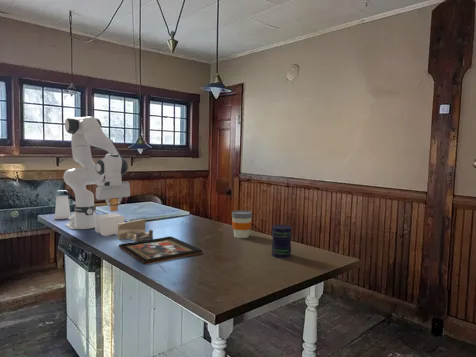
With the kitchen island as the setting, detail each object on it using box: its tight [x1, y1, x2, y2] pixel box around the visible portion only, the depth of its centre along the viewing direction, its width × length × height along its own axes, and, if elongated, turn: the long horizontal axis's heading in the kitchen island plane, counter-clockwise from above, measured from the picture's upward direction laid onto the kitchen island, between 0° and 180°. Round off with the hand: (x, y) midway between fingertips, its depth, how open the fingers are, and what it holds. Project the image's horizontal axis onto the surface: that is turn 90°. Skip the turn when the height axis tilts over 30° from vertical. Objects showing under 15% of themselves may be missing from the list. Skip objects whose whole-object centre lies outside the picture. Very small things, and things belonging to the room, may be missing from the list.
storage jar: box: [271, 224, 293, 259], centre depth 182 cm, size 10×10×15 cm
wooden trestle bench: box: [117, 218, 154, 242], centre depth 210 cm, size 14×18×9 cm
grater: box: [54, 189, 72, 220], centre depth 265 cm, size 10×10×20 cm
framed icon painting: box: [118, 236, 203, 265], centre depth 188 cm, size 38×35×3 cm
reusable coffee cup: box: [231, 209, 253, 239], centre depth 219 cm, size 13×13×15 cm
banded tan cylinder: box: [109, 198, 119, 212], centre depth 205 cm, size 4×4×7 cm
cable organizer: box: [94, 213, 125, 237], centre depth 220 cm, size 15×11×12 cm
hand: (113, 206), depth 205 cm, fingers closed on banded tan cylinder, 4 cm apart
